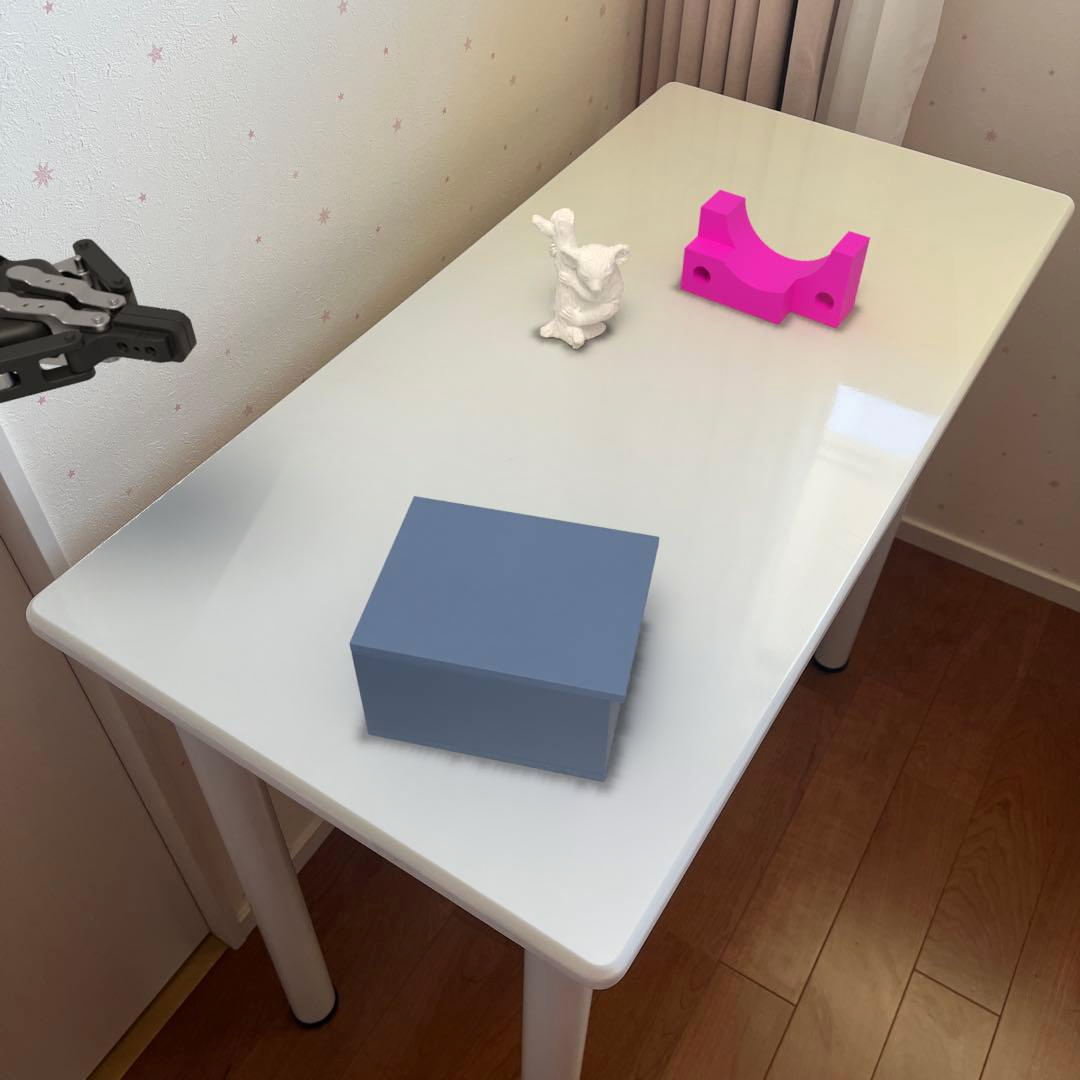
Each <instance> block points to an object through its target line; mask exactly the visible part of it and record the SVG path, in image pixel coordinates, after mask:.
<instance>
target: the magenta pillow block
mask: <svg viewBox="0 0 1080 1080" xmlns="http://www.w3.org/2000/svg"><path fill="white" fill-rule="evenodd" d="M870 242H871V237H870V236H866V235H864V234H861V233H857V232H854V231H851V230H848V231H847V232H846V233H845V235H844V236H843V237H842V238H841V239H840V240H839V241H838V243H837V244H836V245H835V246H833V248H832V249H831V250H830V253H829V254H828V255H826V256H824V257H820V258H816V259H811V260H801V259H800V260H799V259H795V258H789V257H787V256H785V255H782V254H780V253H778V252H777V251H775V250H774V249H772V248H771V247H769V245H767V244H766V243H765V241H764V240H762V239H761V237H760V236H759V234H758V233H757V231H755V228H754V226H753V224H752V223H751V221H750V217H749V215H748V211H747V202H746V197H745V196H741V195H738V194H735V193H733V192H730V191H726V190H723V189H718V190H717V191H716V192H715V194H713V195H712V196H711V197H710V198H709V199H707V201H706V202H705V203H703V205H701V206H700V211H699V220H698V229H697V235H696V237H694V238H693V239H692V240H691V241H690V242H689V243H688V244H687V245H686V246H685V247H684V250H683V252H684V253H683V258H682V261H683V262H682V268H681V279H680V290H682V291H685V292H688V293H689V294H692V295H695V296H698V297H701V298H704V299H706V300H709V301H712V302H715V303H717V304H721V305H723V306H726V307H728V308H732V309H734V310H736V311H740V312H742V313H745V314H748V315H750V316H752V317H753V316H754V317H756V318H759V319H761V320H765V321H767V322H770V323H773V324H775V325H780V324H781V323H782V321H784V319H786V317H787V316H788V315H789V314H790V313H793V314H796V315H798V316H802V317H805V318H807V319H810V320H813V321H816V322H817V323H821V324H824V325H827V326H829V327H832V328H834V329H838V328H839V326H840V325H841V324H842V323H843V321H844V320H845V319H846V317H848V315H849V314H850V313H851V311H852V310H854V306H855V302H856V297H857V294H858V290H859V286H860V283H861V278H862V274H863V270H864V269H863V268H864V265H865V261H866V256H867V254H868V248H869V244H870Z"/></svg>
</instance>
